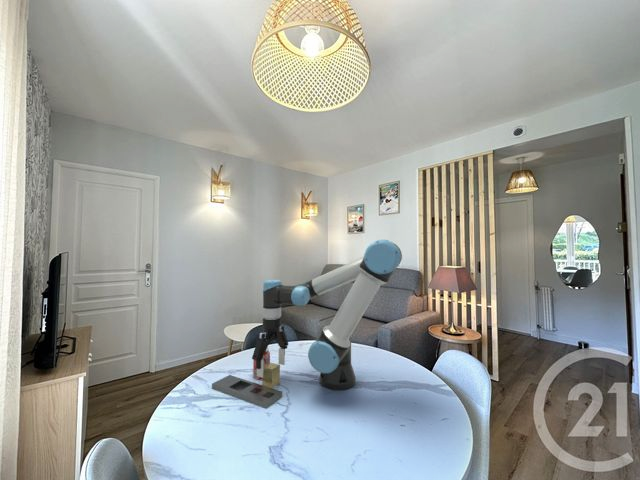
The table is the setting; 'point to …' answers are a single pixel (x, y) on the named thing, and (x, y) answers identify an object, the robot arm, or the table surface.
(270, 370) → the wooden block
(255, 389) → the grey slotted board
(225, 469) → the table surface
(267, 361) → the soda can
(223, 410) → the table surface
